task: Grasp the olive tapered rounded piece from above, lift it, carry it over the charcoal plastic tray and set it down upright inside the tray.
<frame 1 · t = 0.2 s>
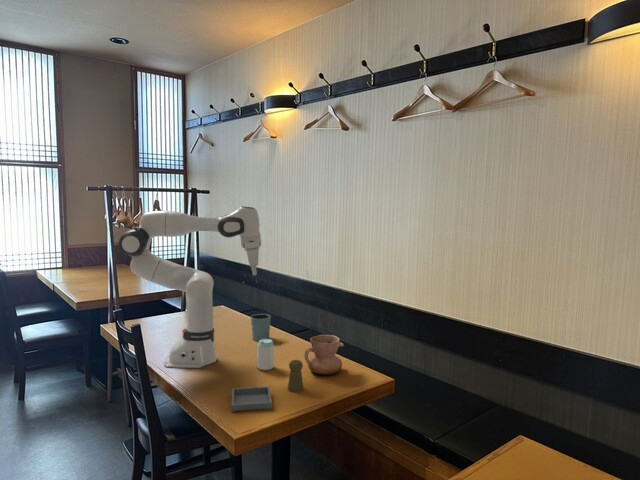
hand: (254, 273, 200), 39 cm above the table, tool pointing down, fingers open, 8 cm apart
grey teal cup: (260, 339, 231), on the table
tray: (251, 402, 159), on the table
can: (265, 368, 191), on the table
olive tapered rounded piece: (295, 389, 171), on the table
ceramic jug: (323, 371, 189), on the table
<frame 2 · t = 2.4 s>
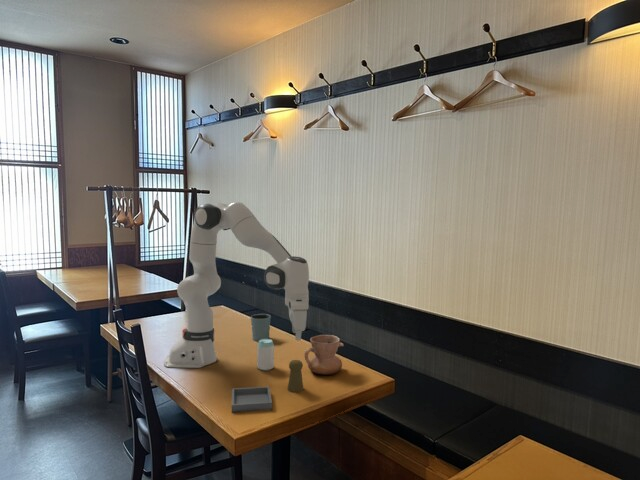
hand: (296, 336, 169), 21 cm above the table, tool pointing down, fingers open, 8 cm apart
nothing on the table moved.
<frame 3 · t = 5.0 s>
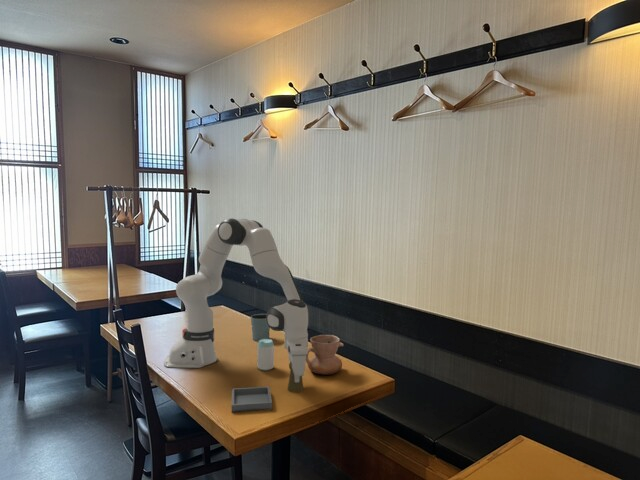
hand: (295, 378, 170), 4 cm above the table, tool pointing down, fingers closed on olive tapered rounded piece, 5 cm apart
olive tapered rounded piece: (295, 389, 171), on the table, touching gripper
everything else where it was.
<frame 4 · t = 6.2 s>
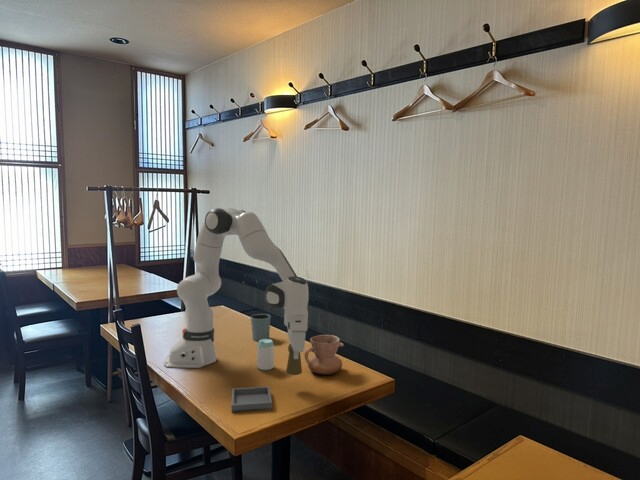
hand: (294, 355, 169), 13 cm above the table, tool pointing down, fingers closed on olive tapered rounded piece, 4 cm apart
olive tapered rounded piece: (294, 372, 170), point 6 cm above the table, touching gripper
everything else where it was.
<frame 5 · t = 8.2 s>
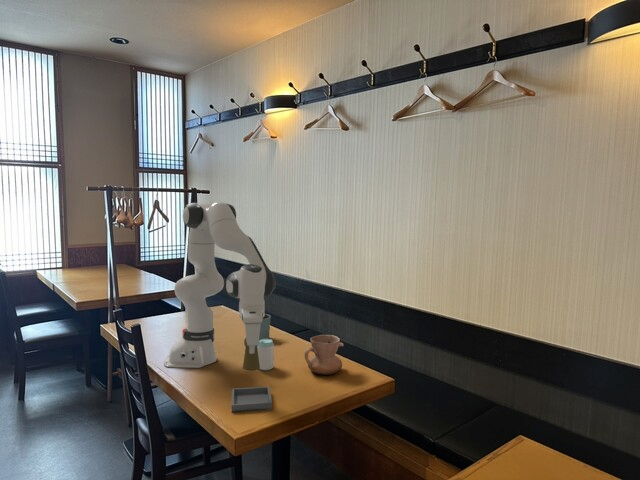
hand: (251, 350, 157), 19 cm above the table, tool pointing down, fingers closed on olive tapered rounded piece, 4 cm apart
olive tapered rounded piece: (251, 368, 158), point 12 cm above the table, touching gripper
everything else where it was.
when the fingers open (6 cm above the table, at t = 10.5 s): olive tapered rounded piece stays where it is, resting on tray.
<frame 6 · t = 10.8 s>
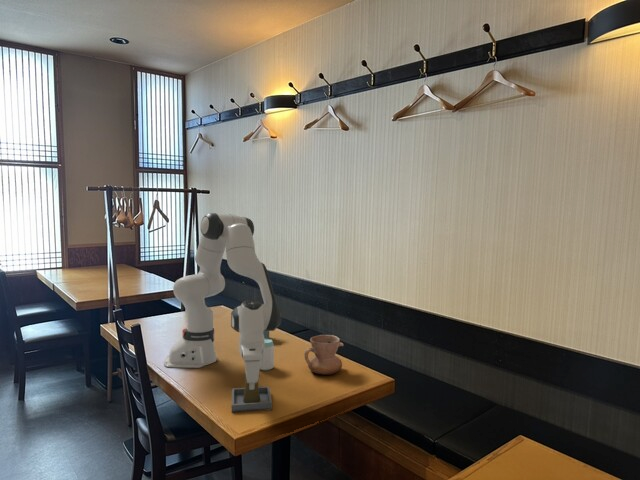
hand: (251, 385, 158), 6 cm above the table, tool pointing down, fingers open, 4 cm apart
olive tapered rounded piece: (251, 400, 159), resting on tray, touching gripper
everything else where it was.
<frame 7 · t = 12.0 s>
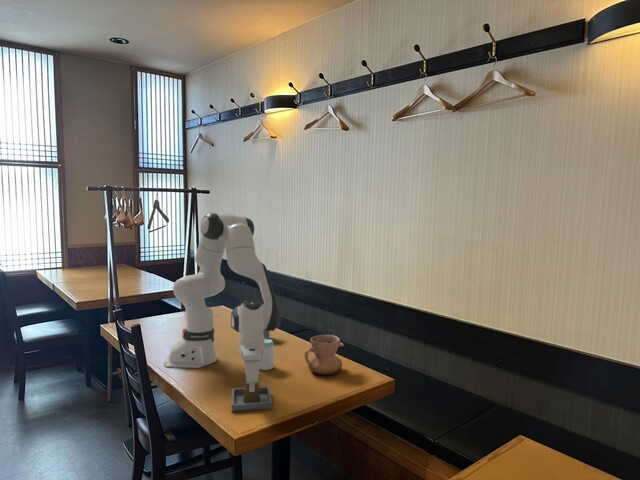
hand: (251, 385, 158), 6 cm above the table, tool pointing down, fingers open, 8 cm apart
olive tapered rounded piece: (251, 400, 159), resting on tray
everything else where it was.
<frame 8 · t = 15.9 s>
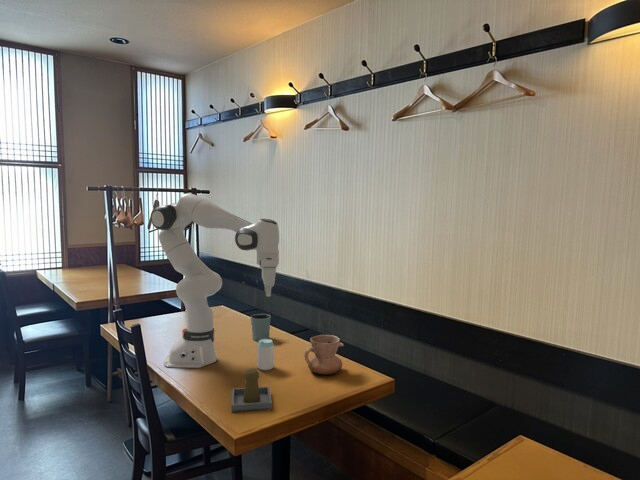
hand: (267, 293, 179), 34 cm above the table, tool pointing down, fingers open, 8 cm apart
nothing on the table moved.
at the end: olive tapered rounded piece inside the target area on the tray (0.2 cm from its centre), point 0.4 cm above the tray's base; olive tapered rounded piece tilted 0°; the gripper is holding nothing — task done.
